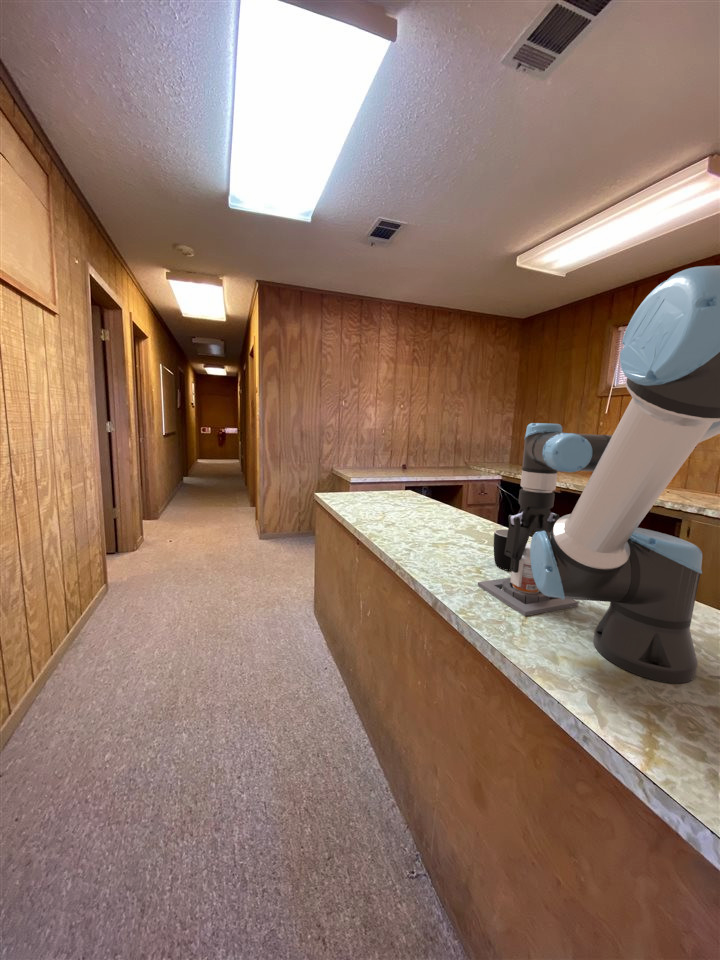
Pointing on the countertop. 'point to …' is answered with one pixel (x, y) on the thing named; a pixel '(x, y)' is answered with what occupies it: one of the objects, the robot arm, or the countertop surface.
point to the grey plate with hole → (524, 598)
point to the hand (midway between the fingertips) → (526, 582)
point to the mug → (501, 549)
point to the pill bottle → (527, 575)
